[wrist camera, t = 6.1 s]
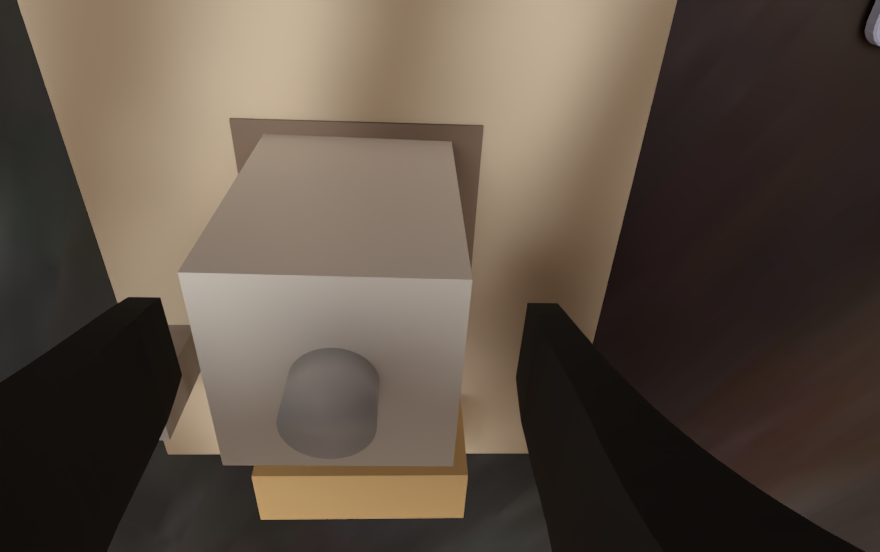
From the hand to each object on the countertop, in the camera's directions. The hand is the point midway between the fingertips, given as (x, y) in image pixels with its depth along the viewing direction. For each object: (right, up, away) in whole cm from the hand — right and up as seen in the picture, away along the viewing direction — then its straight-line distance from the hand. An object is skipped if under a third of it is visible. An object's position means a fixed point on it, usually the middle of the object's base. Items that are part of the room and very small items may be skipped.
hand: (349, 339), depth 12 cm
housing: (0, +3, +3) cm, 4 cm away
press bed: (0, +2, +5) cm, 6 cm away
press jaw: (-1, -3, +7) cm, 8 cm away
